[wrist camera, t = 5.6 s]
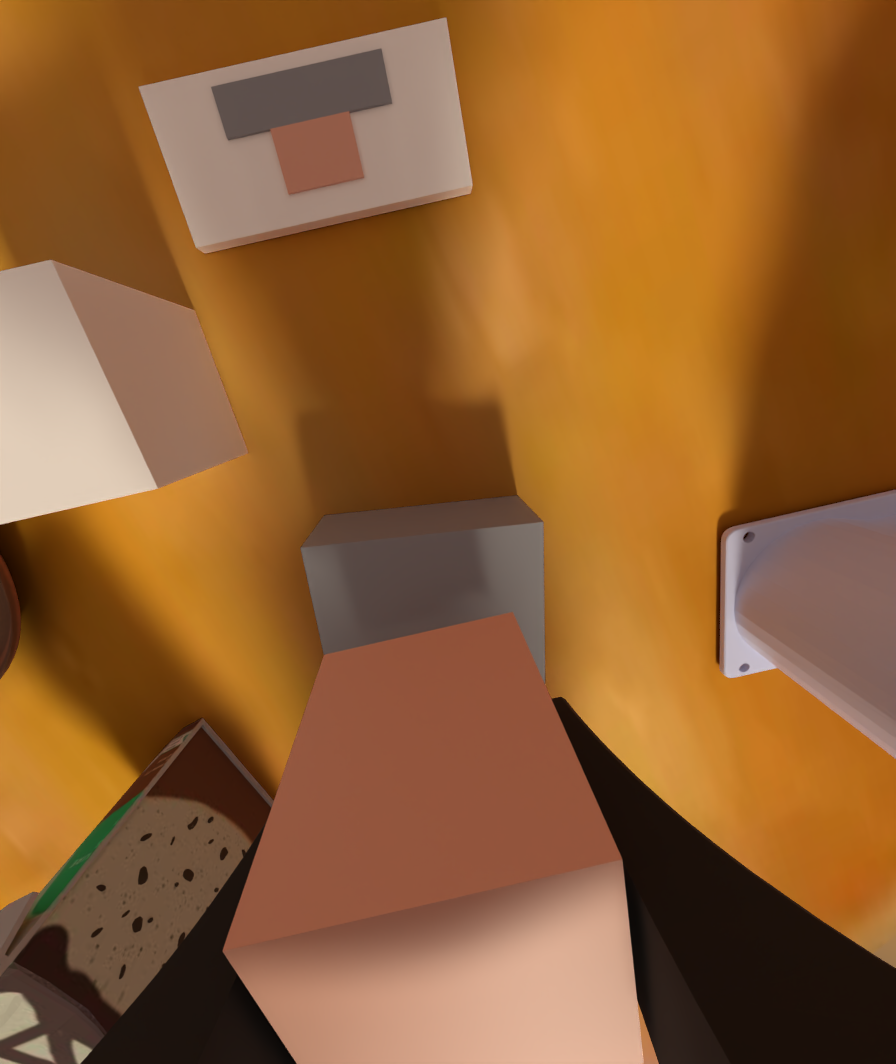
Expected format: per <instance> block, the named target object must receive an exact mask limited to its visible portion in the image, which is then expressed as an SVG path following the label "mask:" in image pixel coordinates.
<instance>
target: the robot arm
mask: <svg viewBox="0 0 896 1064" xmlns="http://www.w3.org/2000/svg"><path fill="white" fill-rule="evenodd" d="M747 532H748V535H747V537H746V538H745V539H743V537H744V535H745V534H746V533H747ZM774 668H778V669H780V670H781V671H782V672H784V673H785V674H786V675H787V676H789V677H790V678H791V679H793V680H794V681H795V682H797V683H798V684H799V685H801V686H802V687H803V688H804V689H806V690H807V691H808V692H810V693H811V694H812V695H814V696H815V697H816V698H817V699H819V700H820V701H821V702H823V703H824V704H825V705H827V706H828V707H829V708H830V709H832V710H833V711H834V712H836V713H837V714H838V715H840V716H841V717H842V718H843V719H845V720H846V721H847V722H849V723H850V724H851V725H853V726H854V727H855V728H856V729H858V730H859V731H860V732H862V733H863V734H864V735H866V736H867V737H868V738H870V739H871V740H872V741H873V742H875V743H876V744H877V745H879V746H880V747H881V748H883V749H884V750H885V751H886V752H888V753H889V754H890V755H892V756H893V757H894V758H896V490H891V491H887V492H882V493H878V494H874V495H869V496H865V497H860V498H856V499H852V500H847V501H843V502H839V503H834V504H830V505H825V506H821V507H817V508H812V509H808V510H803V511H799V512H795V513H790V514H786V515H781V516H777V517H773V518H768V519H764V520H759V521H755V522H751V523H746V524H742V525H737V526H733V527H730V528H728V529H727V530H726V531H724V533H723V535H722V538H721V590H720V671H721V672H722V673H723V674H724V675H725V676H726V677H728V678H735V677H739V676H743V675H748V674H752V673H757V672H761V671H765V670H770V669H774ZM552 702H553V704H554V706H555V708H556V711H557V713H558V715H559V717H560V720H561V722H562V724H563V726H564V729H565V731H566V733H567V735H568V738H569V740H570V742H571V744H572V747H573V749H574V751H575V753H576V756H577V758H578V760H579V762H580V765H581V767H582V769H583V772H584V774H585V776H586V778H587V781H588V783H589V785H590V787H591V790H592V792H593V794H594V796H595V799H596V801H597V803H598V805H599V808H600V810H601V812H602V814H603V817H604V819H605V821H606V823H607V826H608V828H609V830H610V832H611V835H612V837H613V839H614V841H615V844H616V846H617V848H618V851H619V853H620V855H621V857H622V860H623V870H624V879H625V889H626V898H627V908H628V918H629V927H630V937H631V946H632V956H633V966H634V975H635V985H636V994H637V1000H638V1003H639V1006H640V1009H641V1012H642V1015H643V1018H644V1021H645V1024H646V1027H647V1029H648V1032H649V1035H650V1038H651V1041H652V1044H653V1047H654V1050H655V1053H656V1056H657V1059H658V1062H659V1064H896V968H894V967H893V966H891V965H889V964H888V963H886V962H885V961H882V960H881V959H880V958H878V957H876V956H875V955H873V954H872V953H870V952H869V951H867V950H866V949H864V948H863V947H861V946H860V945H858V944H857V943H855V942H853V941H852V940H850V939H849V938H847V937H846V936H844V935H843V934H841V933H840V932H838V931H837V930H835V929H834V928H832V927H831V926H829V925H827V924H826V923H824V922H823V921H821V920H820V919H818V918H817V917H816V916H814V915H813V914H811V913H810V912H808V911H807V910H806V909H804V908H803V907H801V906H800V905H798V904H797V903H796V902H794V901H793V900H791V899H790V898H788V897H787V896H786V895H784V894H783V893H781V892H780V891H779V890H777V889H776V888H774V887H773V886H771V885H770V884H769V883H767V882H766V881H764V880H763V879H761V878H760V877H759V876H757V875H756V874H754V873H753V872H752V871H750V870H749V869H747V868H746V867H745V866H743V865H742V864H741V863H740V862H738V861H737V860H736V859H734V858H733V857H732V856H730V855H729V854H728V853H726V852H725V851H724V850H723V849H721V848H720V847H719V846H717V845H716V844H715V843H713V842H712V841H711V840H710V839H709V838H707V837H706V836H705V835H704V834H702V833H701V832H700V831H699V830H697V829H696V828H695V827H694V826H692V825H691V824H690V823H689V822H688V821H686V820H685V819H684V818H683V817H682V816H680V815H679V814H678V813H677V812H676V811H675V810H673V809H672V808H671V807H670V806H669V805H668V804H666V803H665V802H664V801H663V800H662V799H661V798H660V797H659V796H658V795H656V794H655V793H654V792H653V791H652V790H651V789H650V788H649V787H648V786H646V785H645V784H644V783H643V782H642V781H641V780H640V779H639V778H638V777H637V776H636V775H635V774H634V773H633V772H632V771H631V770H630V769H629V768H628V767H627V766H626V765H625V764H624V763H623V762H622V761H620V760H619V759H618V758H617V757H616V756H615V755H614V754H613V753H612V752H611V751H610V750H609V749H608V747H607V746H606V745H605V744H604V743H603V742H602V741H601V740H600V739H599V738H598V737H597V736H596V735H595V734H594V733H593V731H592V730H591V729H590V728H589V727H588V726H587V725H586V724H585V723H584V721H583V720H582V719H581V718H580V717H579V716H578V714H577V713H576V712H575V711H574V710H573V708H572V707H571V706H570V705H569V703H568V702H567V701H566V700H565V699H564V698H562V697H558V698H553V699H552ZM266 822H267V821H266ZM265 825H266V823H265V824H264V826H263V827H262V829H261V831H260V832H259V834H258V835H257V837H256V838H255V840H254V841H253V843H252V844H251V846H250V847H249V849H248V851H247V852H246V854H245V855H244V857H243V858H242V860H241V861H240V862H239V864H238V865H237V867H236V868H235V870H234V871H233V873H232V874H231V875H230V877H229V878H228V880H227V881H226V883H225V884H224V885H223V887H222V888H221V890H220V891H219V893H218V894H217V895H216V897H215V898H214V900H213V901H212V903H211V904H210V905H209V907H208V908H207V909H206V911H205V912H204V914H203V915H202V916H201V918H200V919H199V920H198V922H197V923H196V924H195V926H194V927H193V928H192V930H191V931H190V932H189V934H188V935H187V936H186V938H185V939H184V940H183V941H182V943H181V944H180V945H179V947H178V948H177V949H176V950H175V952H174V953H173V954H172V956H171V957H170V958H169V959H168V961H167V962H166V963H165V964H164V966H163V967H162V968H161V969H160V971H159V972H158V973H157V974H156V976H155V977H154V978H153V979H152V981H151V982H150V983H149V984H148V985H147V986H146V988H145V989H144V990H143V991H142V992H141V994H140V995H139V996H138V997H137V998H136V999H135V1001H134V1002H133V1003H132V1004H131V1005H130V1006H129V1008H128V1009H127V1010H126V1011H125V1012H124V1014H123V1015H122V1016H121V1017H120V1018H119V1019H118V1021H117V1022H116V1023H115V1024H114V1025H113V1026H112V1028H111V1029H110V1030H109V1031H108V1032H107V1034H106V1035H105V1036H104V1037H103V1038H102V1039H101V1041H100V1042H99V1043H98V1044H97V1045H96V1046H95V1048H94V1049H93V1050H92V1051H91V1052H90V1053H89V1054H88V1056H87V1057H86V1058H85V1059H84V1060H83V1061H82V1062H81V1063H80V1064H297V1063H296V1062H295V1060H294V1059H293V1057H292V1056H291V1054H290V1053H289V1051H288V1050H287V1048H286V1047H285V1045H284V1044H283V1042H282V1041H281V1039H280V1038H279V1036H278V1035H277V1033H276V1032H275V1030H274V1029H273V1027H272V1026H271V1024H270V1023H269V1021H268V1019H267V1018H266V1016H265V1015H264V1013H263V1012H262V1010H261V1009H260V1007H259V1006H258V1004H257V1003H256V1001H255V1000H254V998H253V997H252V995H251V994H250V992H249V991H248V989H247V988H246V986H245V985H244V983H243V982H242V980H241V979H240V977H239V976H238V974H237V973H236V971H235V970H234V968H233V967H232V965H231V964H230V962H229V961H228V959H227V958H226V956H225V954H224V953H223V948H224V945H225V942H226V939H227V936H228V933H229V930H230V927H231V924H232V922H233V919H234V916H235V913H236V910H237V907H238V904H239V901H240V898H241V895H242V892H243V889H244V887H245V884H246V881H247V878H248V875H249V872H250V869H251V866H252V863H253V860H254V857H255V855H256V852H257V849H258V846H259V843H260V840H261V837H262V834H263V831H264V828H265Z"/></svg>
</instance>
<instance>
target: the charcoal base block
mask: <svg viewBox="0 0 896 1064" xmlns="http://www.w3.org/2000/svg"><path fill="white" fill-rule="evenodd" d="M301 553H302V557H303V562H304V566H305V571H306V575H307V580H308V585H309V589H310V594H311V598H312V603H313V608H314V612H315V617H316V621H317V626H318V630H319V635H320V640H321V644H322V649H323V653H324V655H325V654H330V653H334V652H338V651H343V650H347V649H352V648H356V647H360V646H365V645H369V644H374V643H378V642H382V641H387V640H391V639H396V638H400V637H404V636H409V635H413V634H418V633H422V632H426V631H431V630H435V629H439V628H444V627H448V626H453V625H457V624H461V623H466V622H470V621H475V620H479V619H483V618H488V617H492V616H497V615H501V614H505V613H510V612H513V614H514V616H515V618H516V620H517V623H518V625H519V627H520V629H521V632H522V634H523V636H524V638H525V641H526V643H527V645H528V647H529V650H530V652H531V654H532V656H533V659H534V661H535V663H536V665H537V668H538V670H539V672H540V674H541V677H542V679H543V681H544V684H545V623H544V532H543V521H542V520H541V519H540V518H539V517H538V516H537V515H536V514H535V513H534V512H533V511H532V510H531V509H530V508H529V507H528V506H527V505H526V504H525V503H524V501H523V500H522V499H521V498H520V497H519V496H518V495H515V496H506V497H496V498H486V499H476V500H467V501H457V502H447V503H438V504H428V505H418V506H409V507H399V508H389V509H380V510H370V511H360V512H351V513H341V514H331V515H324V516H323V518H322V519H321V520H320V522H319V523H318V524H317V526H316V527H315V529H314V530H313V531H312V533H311V534H310V535H309V537H308V538H307V539H306V541H305V542H304V544H303V545H302V546H301Z"/></svg>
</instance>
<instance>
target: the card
mask: <svg viewBox="0 0 896 1064" xmlns="http://www.w3.org/2000/svg"><path fill="white" fill-rule="evenodd" d="M139 90H140V93H141V96H142V98H143V101H144V104H145V107H146V110H147V112H148V115H149V118H150V121H151V123H152V126H153V129H154V132H155V135H156V137H157V140H158V143H159V146H160V149H161V151H162V154H163V157H164V160H165V163H166V165H167V168H168V171H169V174H170V177H171V179H172V182H173V185H174V188H175V191H176V193H177V196H178V199H179V202H180V205H181V207H182V210H183V213H184V216H185V218H186V221H187V224H188V227H189V230H190V232H191V235H192V238H193V241H194V244H195V246H196V248H197V249H199V250H200V251H202V252H203V253H205V254H206V253H210V252H215V251H219V250H224V249H228V248H232V247H237V246H241V245H246V244H250V243H255V242H259V241H263V240H268V239H272V238H277V237H281V236H285V235H290V234H294V233H299V232H303V231H308V230H312V229H316V228H321V227H325V226H330V225H334V224H339V223H343V222H347V221H352V220H356V219H361V218H365V217H370V216H374V215H378V214H383V213H387V212H392V211H396V210H400V209H405V208H409V207H414V206H418V205H423V204H427V203H431V202H436V201H440V200H445V199H449V198H454V197H458V196H462V195H467V194H470V193H471V190H472V186H473V184H472V177H471V171H470V165H469V158H468V152H467V146H466V139H465V133H464V126H463V120H462V114H461V107H460V101H459V95H458V88H457V82H456V76H455V69H454V63H453V57H452V50H451V44H450V38H449V31H448V25H447V18H446V17H445V18H441V19H437V20H432V21H428V22H423V23H419V24H414V25H410V26H405V27H401V28H397V29H392V30H388V31H383V32H379V33H374V34H370V35H366V36H361V37H357V38H352V39H348V40H343V41H339V42H335V43H330V44H326V45H321V46H317V47H312V48H308V49H303V50H299V51H295V52H290V53H286V54H281V55H277V56H272V57H268V58H264V59H259V60H255V61H250V62H246V63H241V64H237V65H233V66H228V67H224V68H219V69H215V70H210V71H206V72H201V73H197V74H193V75H188V76H184V77H179V78H175V79H170V80H166V81H162V82H157V83H153V84H148V85H144V86H139Z"/></svg>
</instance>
